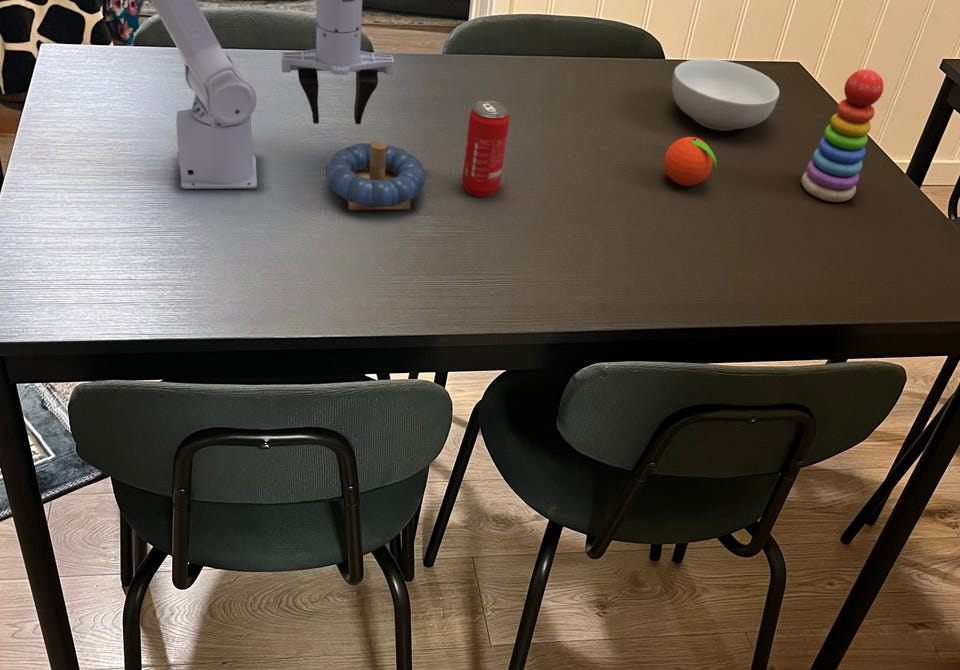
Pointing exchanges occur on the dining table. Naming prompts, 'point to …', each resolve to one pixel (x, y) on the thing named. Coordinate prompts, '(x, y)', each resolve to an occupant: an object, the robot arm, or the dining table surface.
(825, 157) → the stacking toy
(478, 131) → the beverage can
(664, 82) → the dining table surface
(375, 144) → the stand
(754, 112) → the cereal bowl
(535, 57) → the dining table surface
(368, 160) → the ring
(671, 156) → the clementine
